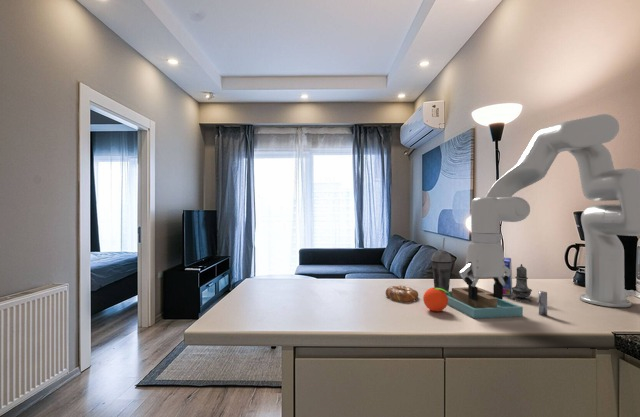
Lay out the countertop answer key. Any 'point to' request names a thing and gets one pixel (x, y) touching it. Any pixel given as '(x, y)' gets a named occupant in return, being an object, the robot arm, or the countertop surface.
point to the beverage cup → (441, 268)
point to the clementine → (436, 299)
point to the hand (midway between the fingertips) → (485, 298)
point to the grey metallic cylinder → (542, 303)
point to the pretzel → (402, 294)
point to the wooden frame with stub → (484, 300)
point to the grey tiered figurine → (521, 285)
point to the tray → (486, 309)
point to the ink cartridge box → (508, 283)
